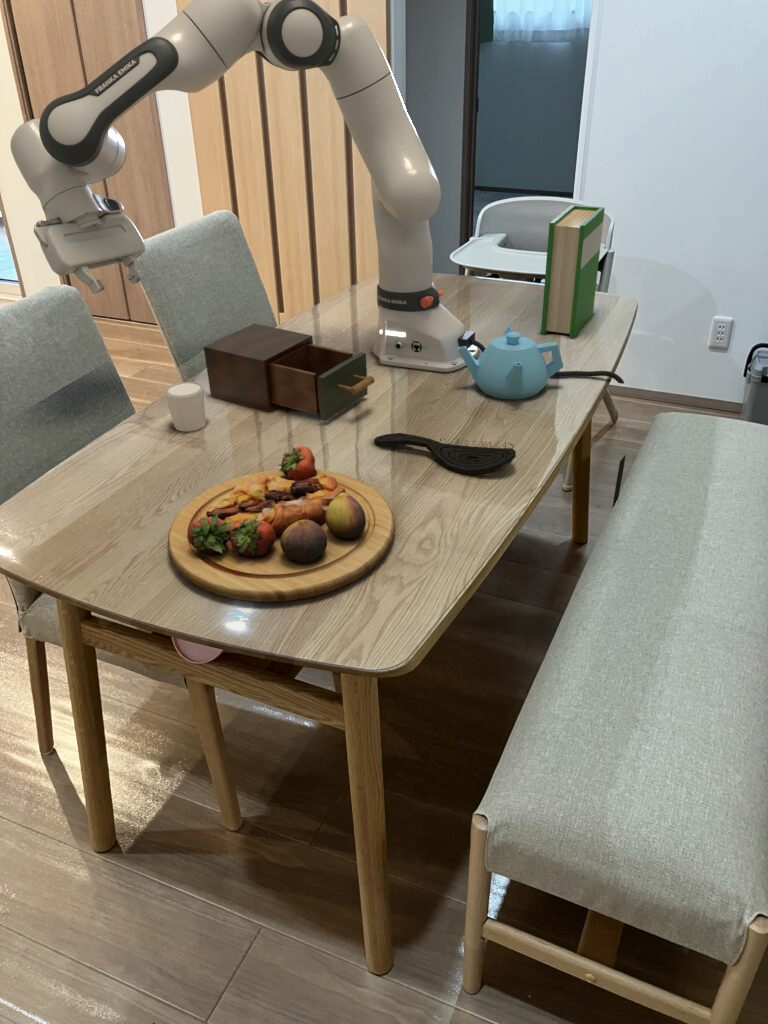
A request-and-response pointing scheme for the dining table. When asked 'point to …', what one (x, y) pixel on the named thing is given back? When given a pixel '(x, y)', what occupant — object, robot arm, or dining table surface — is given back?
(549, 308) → the hardback book
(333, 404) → the drawer
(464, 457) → the hairbrush
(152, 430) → the dining table surface
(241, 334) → the cabinet
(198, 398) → the white cylinder
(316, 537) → the wooden plate
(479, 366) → the teapot
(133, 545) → the dining table surface
